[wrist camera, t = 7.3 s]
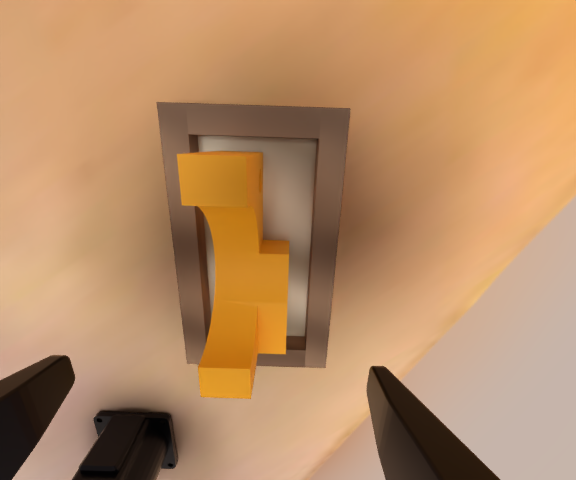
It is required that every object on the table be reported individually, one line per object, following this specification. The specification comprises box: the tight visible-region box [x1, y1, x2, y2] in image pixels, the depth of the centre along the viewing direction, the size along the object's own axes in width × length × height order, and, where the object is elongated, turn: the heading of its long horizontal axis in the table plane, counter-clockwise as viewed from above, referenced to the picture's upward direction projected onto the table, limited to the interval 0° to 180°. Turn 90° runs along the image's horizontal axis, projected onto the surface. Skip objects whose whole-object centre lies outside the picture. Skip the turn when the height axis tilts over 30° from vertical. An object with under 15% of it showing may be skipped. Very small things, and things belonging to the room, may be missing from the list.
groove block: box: [157, 102, 350, 368], centre depth 18 cm, size 17×10×2 cm, turn 178°
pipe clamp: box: [177, 151, 289, 399], centre depth 15 cm, size 12×4×6 cm, turn 178°
